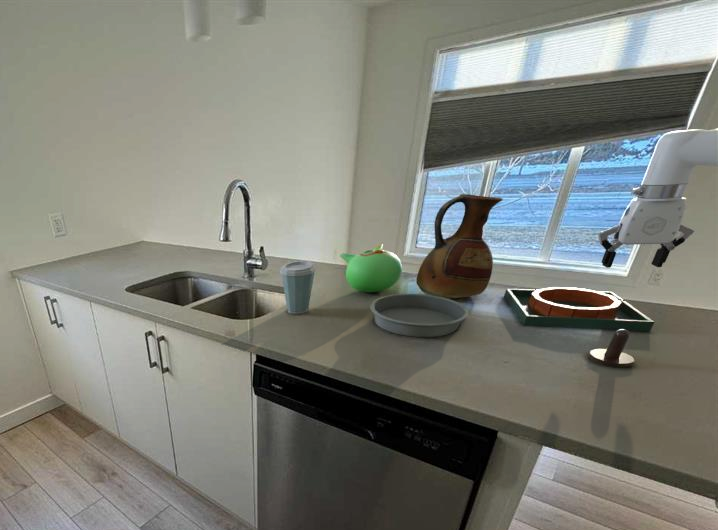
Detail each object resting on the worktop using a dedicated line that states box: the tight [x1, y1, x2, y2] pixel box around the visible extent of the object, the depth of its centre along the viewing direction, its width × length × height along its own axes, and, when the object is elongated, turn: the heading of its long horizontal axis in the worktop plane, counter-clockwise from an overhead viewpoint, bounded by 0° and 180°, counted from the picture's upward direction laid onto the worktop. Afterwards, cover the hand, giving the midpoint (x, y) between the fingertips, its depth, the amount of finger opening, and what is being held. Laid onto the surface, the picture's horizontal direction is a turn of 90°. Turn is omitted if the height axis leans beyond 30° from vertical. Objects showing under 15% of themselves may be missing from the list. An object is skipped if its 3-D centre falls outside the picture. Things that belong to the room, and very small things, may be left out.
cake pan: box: [370, 293, 470, 338], centre depth 113 cm, size 25×25×4 cm
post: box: [587, 329, 635, 369], centre depth 87 cm, size 7×7×7 cm
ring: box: [528, 286, 622, 319], centre depth 111 cm, size 18×18×4 cm
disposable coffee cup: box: [280, 259, 316, 315], centre depth 126 cm, size 11×11×15 cm
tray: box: [503, 288, 655, 333], centre depth 111 cm, size 26×24×3 cm
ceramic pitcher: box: [416, 193, 504, 300], centre depth 124 cm, size 20×20×30 cm
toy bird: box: [339, 243, 403, 293], centre depth 138 cm, size 18×17×15 cm
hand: (630, 266), depth 102 cm, fingers open, 9 cm apart
